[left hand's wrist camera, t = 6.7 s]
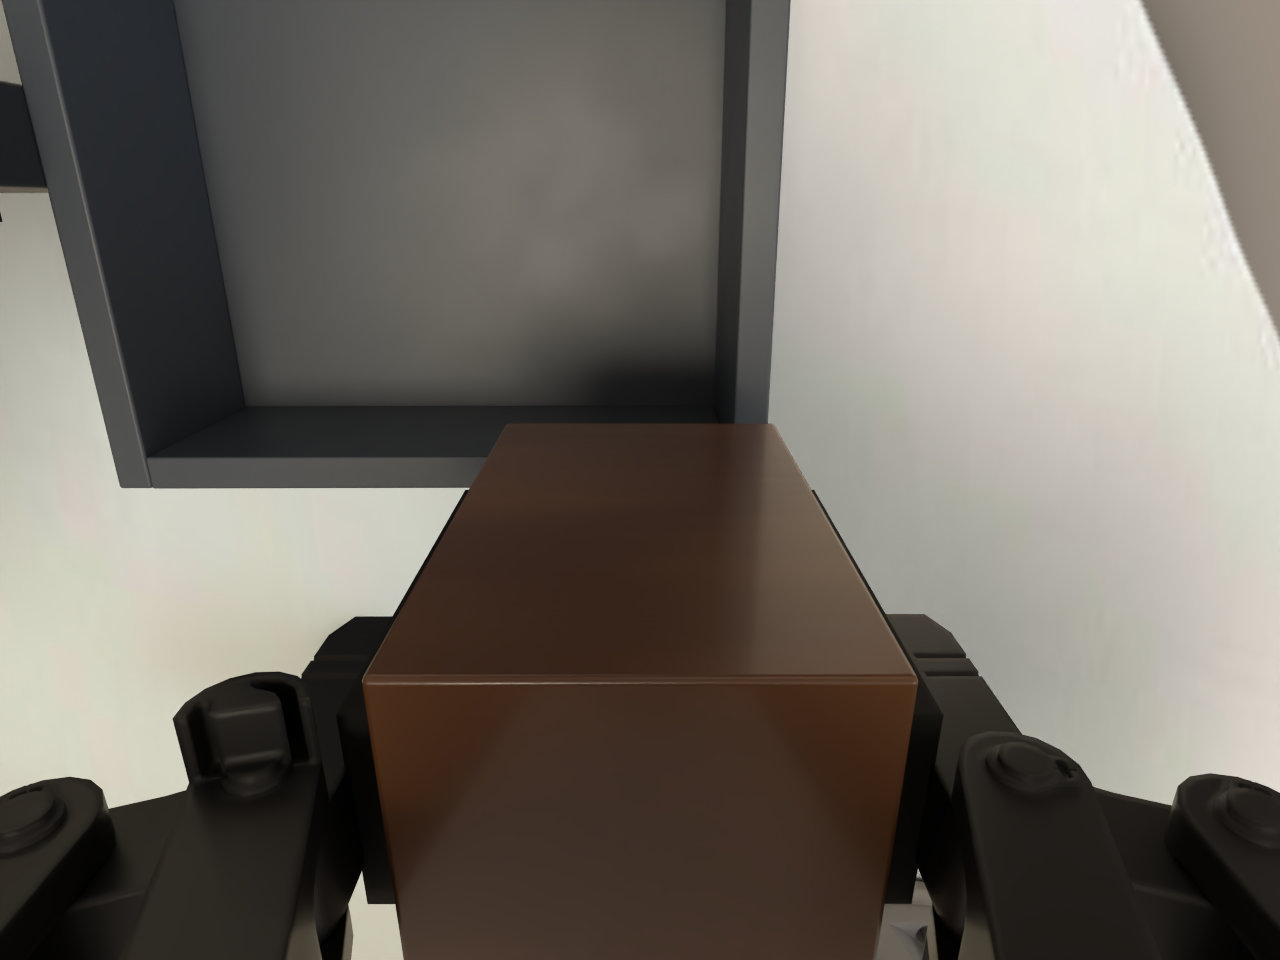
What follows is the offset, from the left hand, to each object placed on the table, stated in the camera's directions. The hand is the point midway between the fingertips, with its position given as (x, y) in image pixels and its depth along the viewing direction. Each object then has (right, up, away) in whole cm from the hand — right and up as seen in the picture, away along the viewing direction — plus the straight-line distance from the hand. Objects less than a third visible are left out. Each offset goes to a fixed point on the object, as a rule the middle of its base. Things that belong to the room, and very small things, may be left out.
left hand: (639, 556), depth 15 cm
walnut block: (0, 0, 0) cm, 1 cm away
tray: (-9, +11, +7) cm, 16 cm away
